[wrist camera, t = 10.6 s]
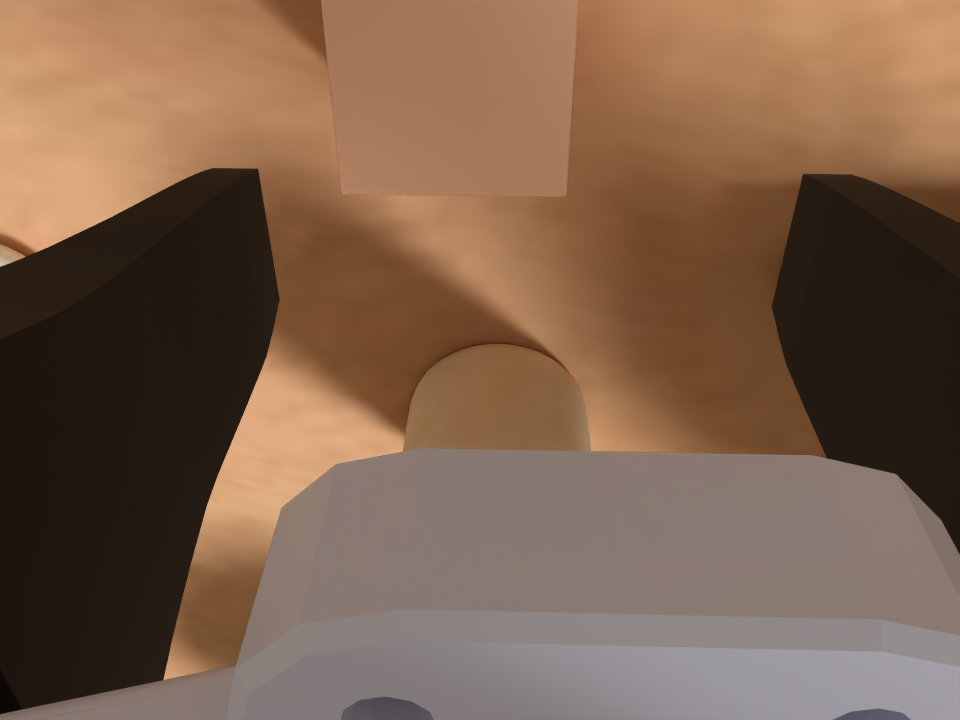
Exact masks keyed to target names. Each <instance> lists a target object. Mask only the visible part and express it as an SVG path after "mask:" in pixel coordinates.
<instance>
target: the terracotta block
mask: <svg viewBox="0 0 960 720" xmlns="http://www.w3.org/2000/svg"><path fill="white" fill-rule="evenodd" d="M578 2H579V0H321V8H322V17H323V26H324V36H325V45H326V54H327V64H328V73H329V82H330V92H331V101H332V110H333V120H334V129H335V138H336V148H337V157H338V166H339V176H340V185H341V194H342V195H453V196H563V197H566V195H567V179H568V163H569V147H570V131H571V115H572V99H573V83H574V67H575V51H576V35H577V19H578Z"/></svg>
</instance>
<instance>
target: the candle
mask: <svg viewBox="0 0 960 720" xmlns="http://www.w3.org/2000/svg"><path fill="white" fill-rule="evenodd" d="M421 448H429V449H486V450H544V451H591V444H590V435H589V428H588V421H587V414H586V408H585V403H584V400H583V397H582V394H581V392H580V389H579V387H578V386H577V384H576V382H575V380H574V379H573V378H572V376H571V375H570V374H569V373H568V372H567V371H566V370H565V369H564V368H563V367H562V366H561V365H560V364H559V363H557V362H556V361H555V360H553V359H551V358H550V357H548V356H546V355H544V354H542V353H540V352H537V351H535V350H532V349H529V348H525V347H522V346H516V345H510V344H485V345H478V346H473V347H469V348H465V349H462V350H460V351H457V352H454V353H452V354H450V355H448V356H447V357H445V358H443V359H442V360H440V361H439V362H437V363H436V364H435V365H434V366H433V367H431V368H430V369H429V370H428V371H427V372H426V374H425V375H424V376H423V377H422V379H421V380H420V382H419V384H418V385H417V388H416V390H415V392H414V395H413V397H412V400H411V404H410V409H409V415H408V420H407V426H406V433H405V440H404V447H403V452H405V451H410V450H416V449H421Z"/></svg>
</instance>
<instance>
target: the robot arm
mask: <svg viewBox="0 0 960 720" xmlns="http://www.w3.org/2000/svg"><path fill="white" fill-rule="evenodd" d="M278 304H279V293H278V287H277V281H276V275H275V269H274V263H273V257H272V251H271V245H270V239H269V233H268V227H267V221H266V215H265V208H264V202H263V196H262V190H261V184H260V178H259V172H258V169H232V168H212V169H209V170H205V171H202V172H200V173H197V174H195V175H193V176H190V177H188V178H186V179H184V180H182V181H180V182H178V183H176V184H174V185H172V186H170V187H168V188H166V189H164V190H162V191H160V192H158V193H157V194H155V195H153V196H151V197H149V198H147V199H145V200H143V201H141V202H139V203H138V204H136V205H134V206H132V207H130V208H128V209H126V210H124V211H122V212H120V213H119V214H117V215H115V216H113V217H111V218H109V219H107V220H105V221H103V222H101V223H98V224H96V225H94V226H92V227H90V228H88V229H86V230H84V231H82V232H80V233H78V234H75V235H73V236H71V237H69V238H67V239H65V240H63V241H61V242H59V243H57V244H54V245H52V246H50V247H48V248H46V249H43V250H41V251H39V252H36V253H34V254H32V255H29V256H27V257H24V258H22V259H19V260H17V261H14V262H12V263H9V264H6V265H3V266H1V267H0V720H960V223H958V222H956V221H954V220H952V219H950V218H948V217H946V216H944V215H942V214H940V213H938V212H936V211H934V210H932V209H930V208H928V207H926V206H924V205H922V204H919V203H917V202H915V201H913V200H911V199H909V198H907V197H905V196H903V195H901V194H899V193H897V192H895V191H893V190H890V189H888V188H886V187H884V186H881V185H879V184H877V183H874V182H872V181H869V180H867V179H864V178H861V177H857V176H854V175H837V174H803V177H802V181H801V185H800V190H799V194H798V198H797V202H796V206H795V211H794V215H793V219H792V223H791V228H790V232H789V236H788V240H787V245H786V249H785V253H784V257H783V261H782V266H781V270H780V274H779V278H778V283H777V287H776V291H775V295H774V300H773V304H772V308H773V313H774V317H775V322H776V326H777V330H778V335H779V339H780V343H781V346H782V350H783V354H784V358H785V361H786V365H787V367H788V369H789V372H790V374H791V377H792V379H793V382H794V384H795V386H796V389H797V391H798V393H799V395H800V398H801V400H802V402H803V405H804V407H805V409H806V412H807V414H808V416H809V418H810V421H811V423H812V425H813V427H814V430H815V432H816V434H817V436H818V439H819V441H820V443H821V445H822V448H823V450H824V452H825V454H826V457H827V458H823V457H818V456H814V455H774V454H716V453H659V452H601V451H544V450H486V449H429V448H421V449H416V450H410V451H405V452H400V453H394V454H389V455H383V456H378V457H372V458H367V459H362V460H356V461H351V462H345V463H340V464H336V465H334V466H333V467H332V468H331V469H329V470H328V471H327V472H326V473H324V474H323V475H322V476H321V477H319V478H318V479H317V480H316V481H314V482H313V483H312V484H311V485H309V486H308V487H307V488H306V489H304V490H303V491H302V492H301V493H299V494H298V495H297V496H296V497H294V498H293V499H292V500H291V501H289V502H288V503H287V504H286V505H284V506H283V507H282V508H281V511H280V515H279V518H278V522H277V525H276V529H275V532H274V536H273V539H272V542H271V546H270V549H269V553H268V556H267V560H266V563H265V567H264V570H263V573H262V577H261V580H260V584H259V587H258V591H257V594H256V598H255V601H254V604H253V608H252V611H251V615H250V618H249V622H248V625H247V629H246V632H245V636H244V639H243V642H242V646H241V649H240V653H239V656H238V660H237V663H236V665H234V666H229V667H224V668H220V669H215V670H210V671H205V672H200V673H196V674H191V675H186V676H181V677H176V678H172V679H167V680H163V679H164V674H165V670H166V665H167V661H168V656H169V651H170V647H171V642H172V638H173V633H174V629H175V625H176V621H177V617H178V613H179V609H180V605H181V601H182V597H183V593H184V589H185V585H186V581H187V577H188V573H189V568H190V565H191V561H192V557H193V554H194V550H195V547H196V543H197V539H198V536H199V532H200V528H201V525H202V521H203V517H204V514H205V510H206V507H207V504H208V501H209V498H210V495H211V492H212V490H213V487H214V484H215V481H216V478H217V476H218V473H219V471H220V469H221V466H222V464H223V461H224V459H225V457H226V454H227V452H228V449H229V447H230V444H231V442H232V440H233V437H234V435H235V432H236V430H237V428H238V425H239V423H240V420H241V418H242V416H243V413H244V411H245V408H246V406H247V404H248V401H249V399H250V396H251V394H252V391H253V389H254V386H255V384H256V381H257V379H258V376H259V374H260V372H261V369H262V366H263V364H264V361H265V359H266V356H267V352H268V348H269V344H270V340H271V336H272V332H273V327H274V323H275V318H276V313H277V309H278Z"/></svg>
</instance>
